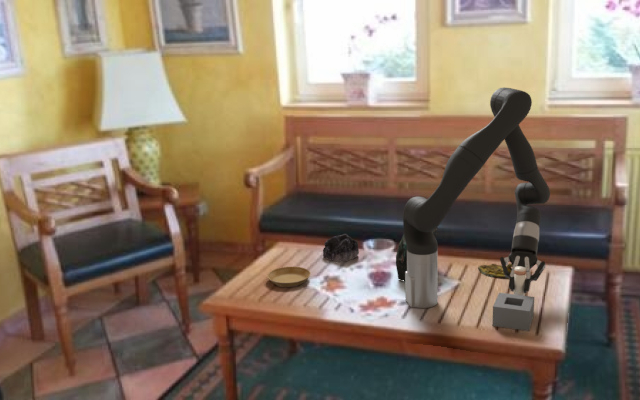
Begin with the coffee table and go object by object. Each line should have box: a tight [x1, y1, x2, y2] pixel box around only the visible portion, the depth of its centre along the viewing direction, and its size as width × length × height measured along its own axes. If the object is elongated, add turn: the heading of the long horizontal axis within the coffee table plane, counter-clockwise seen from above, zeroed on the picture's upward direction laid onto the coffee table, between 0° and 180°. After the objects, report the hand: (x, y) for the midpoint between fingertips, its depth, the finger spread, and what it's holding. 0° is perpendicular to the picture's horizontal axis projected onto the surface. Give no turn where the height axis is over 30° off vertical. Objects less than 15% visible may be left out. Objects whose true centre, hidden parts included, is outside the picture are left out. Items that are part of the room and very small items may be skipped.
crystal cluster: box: [322, 233, 360, 263], centre depth 247 cm, size 13×14×10 cm
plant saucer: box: [267, 266, 311, 288], centre depth 227 cm, size 15×15×3 cm
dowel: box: [513, 266, 526, 296], centre depth 199 cm, size 3×3×12 cm
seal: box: [477, 263, 513, 280], centre depth 225 cm, size 9×5×15 cm
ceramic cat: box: [395, 227, 439, 281], centre depth 226 cm, size 20×6×20 cm, turn 136°
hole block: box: [491, 292, 535, 332], centre depth 190 cm, size 10×10×6 cm
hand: (518, 291), depth 197 cm, fingers closed on dowel, 3 cm apart
